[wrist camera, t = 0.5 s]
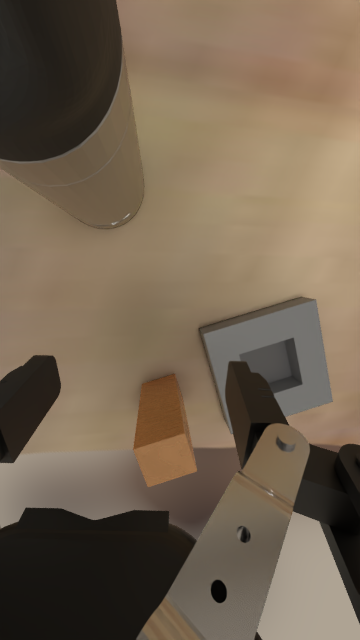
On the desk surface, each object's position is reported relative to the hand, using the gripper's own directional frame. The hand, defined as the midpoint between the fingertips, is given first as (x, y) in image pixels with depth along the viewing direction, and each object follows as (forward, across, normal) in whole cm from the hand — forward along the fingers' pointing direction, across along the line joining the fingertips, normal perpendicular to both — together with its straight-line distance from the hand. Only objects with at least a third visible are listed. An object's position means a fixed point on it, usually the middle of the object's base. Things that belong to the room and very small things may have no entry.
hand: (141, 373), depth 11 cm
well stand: (+18, -13, +11) cm, 25 cm away
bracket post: (+16, 0, +15) cm, 22 cm away
